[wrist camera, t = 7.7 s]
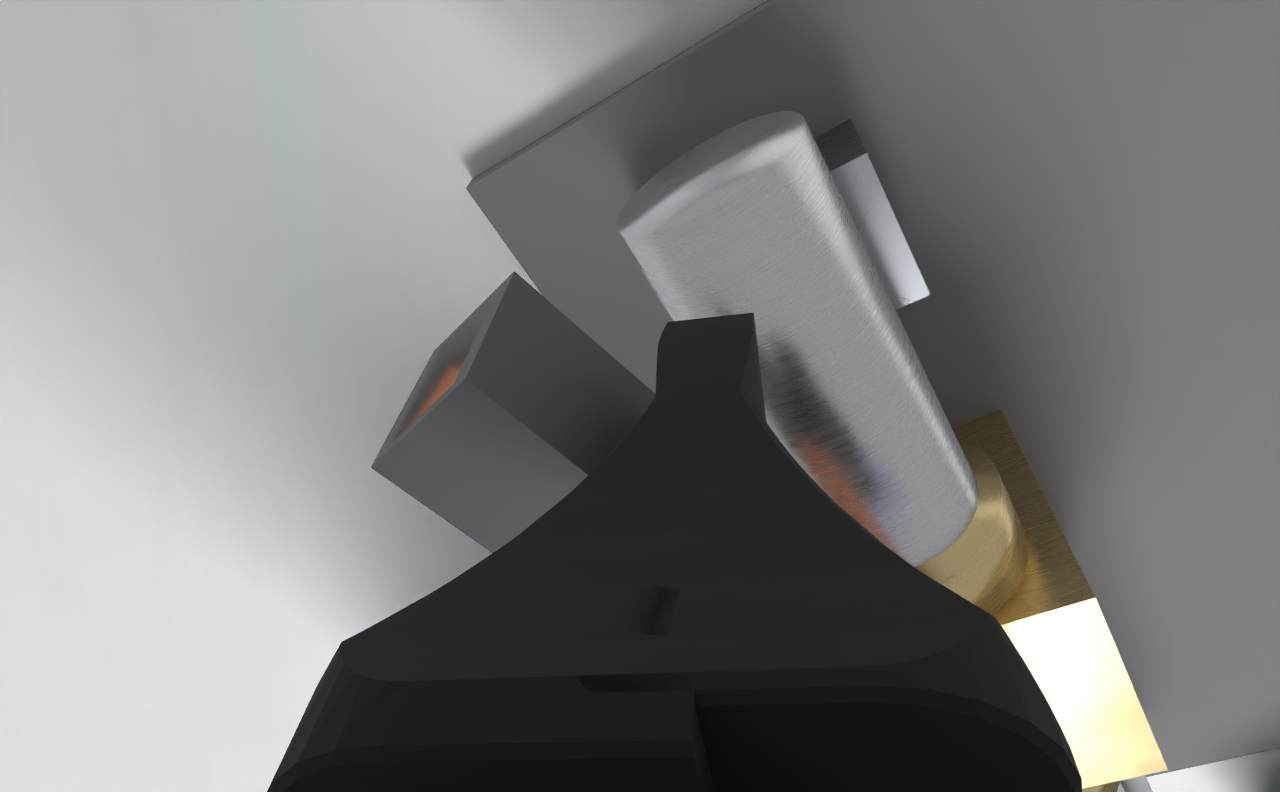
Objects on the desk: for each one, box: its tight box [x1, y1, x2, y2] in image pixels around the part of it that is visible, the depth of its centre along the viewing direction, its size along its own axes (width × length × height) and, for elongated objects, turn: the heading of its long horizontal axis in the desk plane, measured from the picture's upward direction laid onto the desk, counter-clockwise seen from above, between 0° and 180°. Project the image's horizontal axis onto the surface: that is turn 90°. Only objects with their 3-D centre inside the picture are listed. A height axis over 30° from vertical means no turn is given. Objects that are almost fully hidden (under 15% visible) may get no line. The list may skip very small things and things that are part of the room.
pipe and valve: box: [617, 111, 1168, 792], centre depth 19 cm, size 5×24×6 cm, turn 31°
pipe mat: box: [466, 0, 1280, 777], centre depth 20 cm, size 18×26×1 cm
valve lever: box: [371, 272, 656, 553], centre depth 13 cm, size 14×2×3 cm, turn 45°
